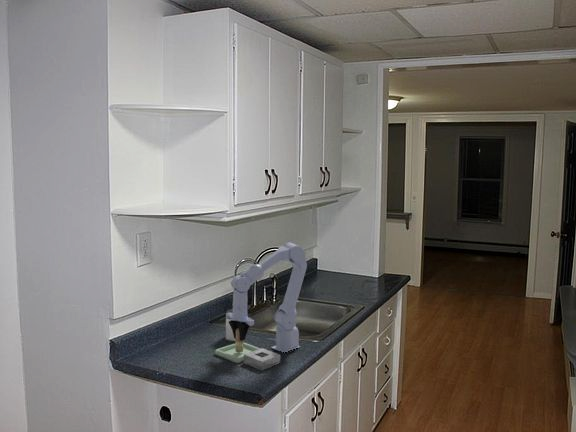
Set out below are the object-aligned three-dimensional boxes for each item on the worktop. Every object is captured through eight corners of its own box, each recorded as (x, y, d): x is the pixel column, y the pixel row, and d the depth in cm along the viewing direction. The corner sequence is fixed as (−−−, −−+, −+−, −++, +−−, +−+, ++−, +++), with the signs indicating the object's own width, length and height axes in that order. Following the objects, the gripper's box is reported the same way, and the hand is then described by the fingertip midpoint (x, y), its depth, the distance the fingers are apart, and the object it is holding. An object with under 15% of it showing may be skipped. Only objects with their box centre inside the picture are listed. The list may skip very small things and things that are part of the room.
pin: (239, 349, 227) (239, 327, 226) (244, 350, 225) (244, 329, 224) (233, 350, 225) (234, 329, 224) (238, 352, 223) (239, 330, 222)
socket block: (262, 356, 224) (262, 348, 223) (280, 363, 217) (280, 354, 216) (243, 363, 216) (243, 354, 216) (261, 370, 210) (261, 361, 209)
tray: (241, 346, 235) (241, 341, 235) (263, 354, 226) (263, 349, 226) (215, 354, 225) (215, 349, 224) (237, 363, 216) (237, 358, 216)
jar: (244, 341, 241) (244, 314, 239) (225, 341, 240) (225, 314, 239) (244, 334, 250) (245, 308, 248) (226, 334, 249) (226, 308, 248)
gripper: (220, 304, 225) (220, 336, 227) (245, 311, 215) (244, 346, 217) (233, 300, 230) (233, 332, 232) (258, 308, 220) (257, 341, 222)
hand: (239, 339), depth 225 cm, fingers closed on pin, 3 cm apart
